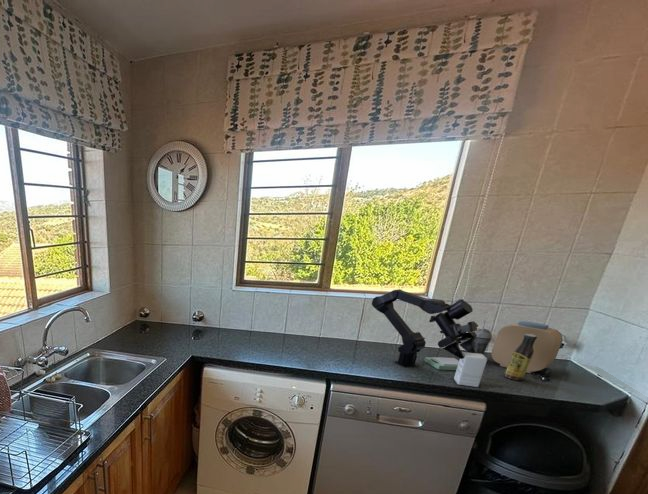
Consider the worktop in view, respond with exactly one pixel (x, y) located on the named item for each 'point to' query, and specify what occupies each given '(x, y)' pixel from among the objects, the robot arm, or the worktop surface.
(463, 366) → the white packaging box
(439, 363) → the kitchen scale
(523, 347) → the sauce bottle
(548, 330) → the beige toaster
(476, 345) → the beverage cup
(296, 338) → the worktop surface
